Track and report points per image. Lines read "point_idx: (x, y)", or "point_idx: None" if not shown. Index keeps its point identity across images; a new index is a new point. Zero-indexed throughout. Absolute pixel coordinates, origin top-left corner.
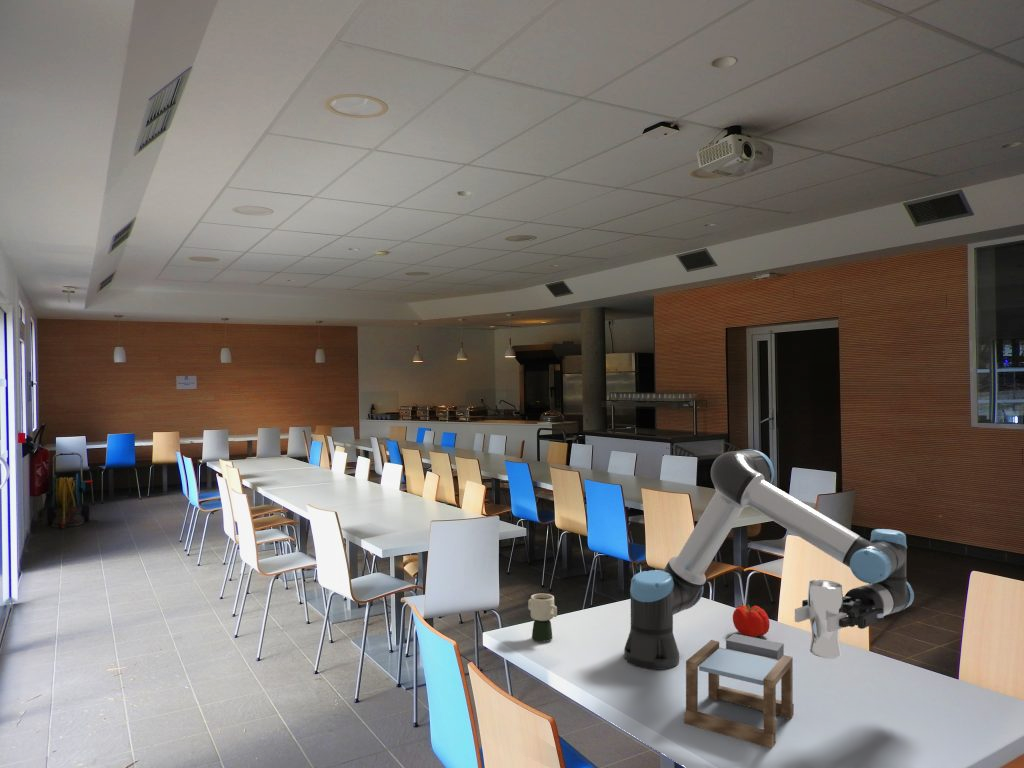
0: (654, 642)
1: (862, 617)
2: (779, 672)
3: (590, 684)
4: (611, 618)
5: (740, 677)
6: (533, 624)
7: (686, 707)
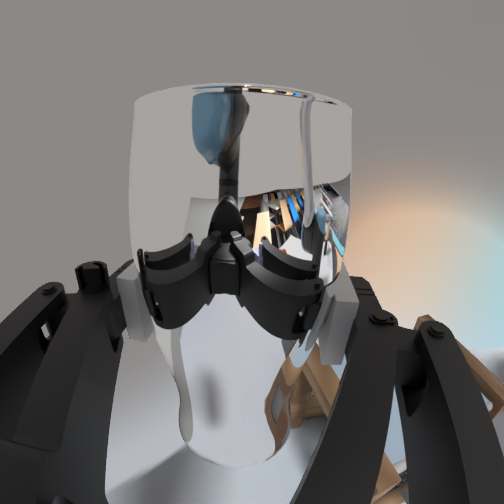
0: None
1: (47, 283)
2: (319, 382)
3: (496, 357)
4: None
5: None
6: None
7: None
